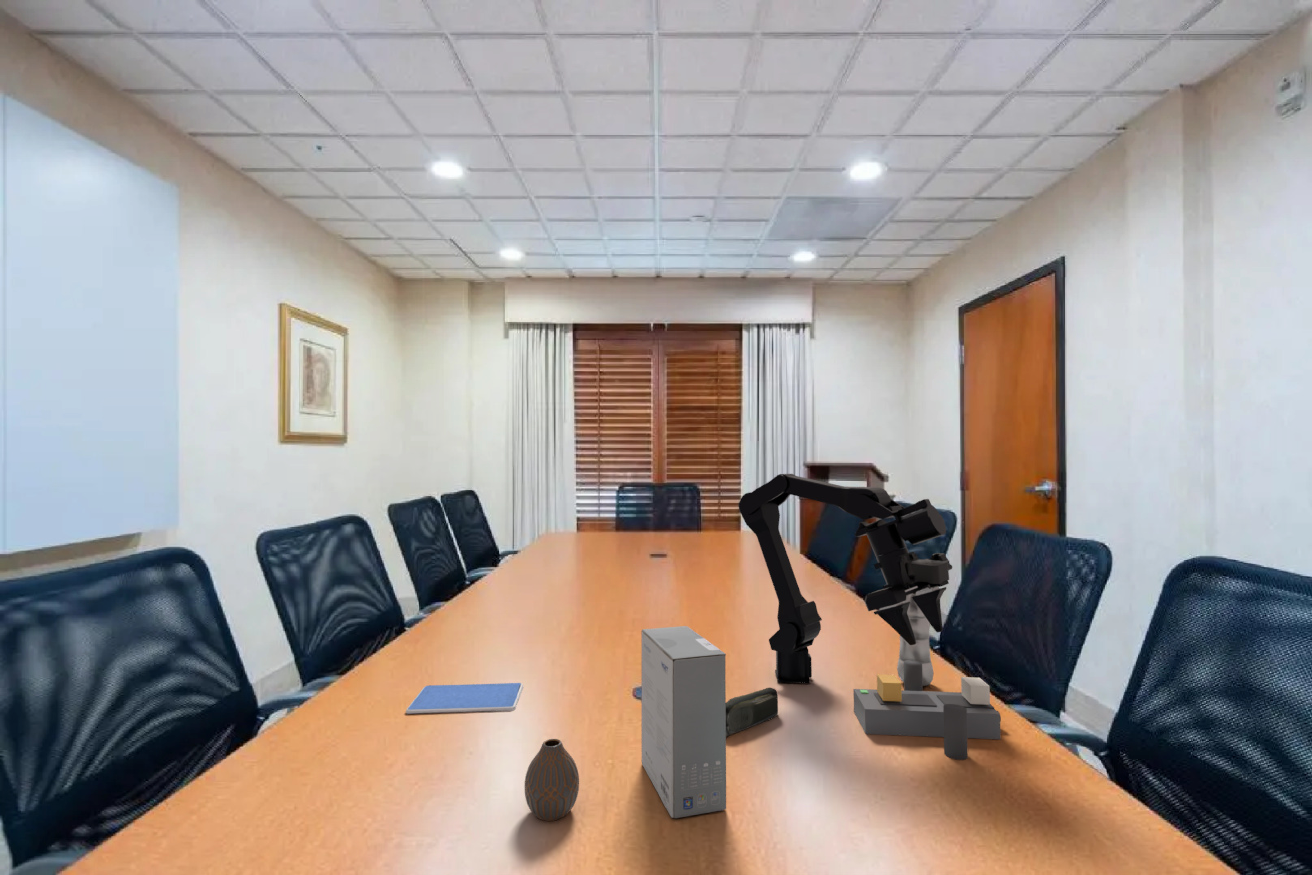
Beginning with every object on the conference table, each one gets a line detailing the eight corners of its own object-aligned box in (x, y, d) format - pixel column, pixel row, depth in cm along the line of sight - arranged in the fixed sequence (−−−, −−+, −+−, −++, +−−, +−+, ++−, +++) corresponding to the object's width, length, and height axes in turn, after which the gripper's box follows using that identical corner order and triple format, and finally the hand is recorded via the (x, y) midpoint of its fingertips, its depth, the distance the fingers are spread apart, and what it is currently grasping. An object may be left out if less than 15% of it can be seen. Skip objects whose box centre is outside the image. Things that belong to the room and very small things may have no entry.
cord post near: (948, 759, 93) (947, 711, 93) (941, 749, 96) (940, 703, 96) (971, 760, 93) (970, 712, 93) (962, 750, 96) (961, 704, 96)
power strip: (865, 733, 102) (865, 707, 102) (853, 711, 111) (853, 687, 111) (1011, 739, 99) (1010, 713, 99) (987, 716, 108) (986, 692, 108)
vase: (527, 798, 83) (528, 731, 83) (580, 796, 83) (580, 729, 84) (521, 829, 76) (521, 756, 76) (577, 826, 76) (578, 754, 77)
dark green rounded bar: (767, 683, 112) (711, 704, 102) (781, 688, 110) (725, 709, 99) (767, 712, 112) (711, 735, 101) (781, 716, 109) (725, 741, 99)
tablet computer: (524, 687, 124) (524, 681, 124) (514, 713, 112) (515, 706, 112) (424, 691, 123) (424, 684, 123) (404, 717, 110) (404, 710, 110)
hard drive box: (728, 811, 79) (727, 654, 80) (671, 822, 77) (671, 659, 78) (688, 756, 94) (687, 623, 95) (639, 763, 92) (639, 627, 93)
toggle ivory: (970, 703, 102) (970, 685, 103) (961, 694, 106) (961, 676, 107) (989, 704, 102) (989, 686, 102) (979, 695, 106) (979, 677, 106)
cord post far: (907, 704, 114) (906, 665, 114) (902, 697, 117) (901, 659, 117) (925, 704, 114) (924, 666, 114) (919, 698, 117) (919, 660, 117)
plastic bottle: (937, 691, 120) (935, 586, 121) (900, 688, 121) (898, 585, 122) (929, 679, 126) (927, 580, 127) (894, 677, 128) (892, 579, 128)
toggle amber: (883, 700, 104) (882, 682, 104) (877, 691, 108) (876, 674, 108) (901, 701, 104) (901, 683, 104) (895, 692, 108) (894, 674, 108)
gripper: (900, 548, 102) (941, 643, 98) (955, 532, 114) (993, 616, 109) (848, 565, 110) (883, 654, 106) (904, 549, 122) (938, 628, 117)
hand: (926, 638), depth 109 cm, fingers open, 9 cm apart
